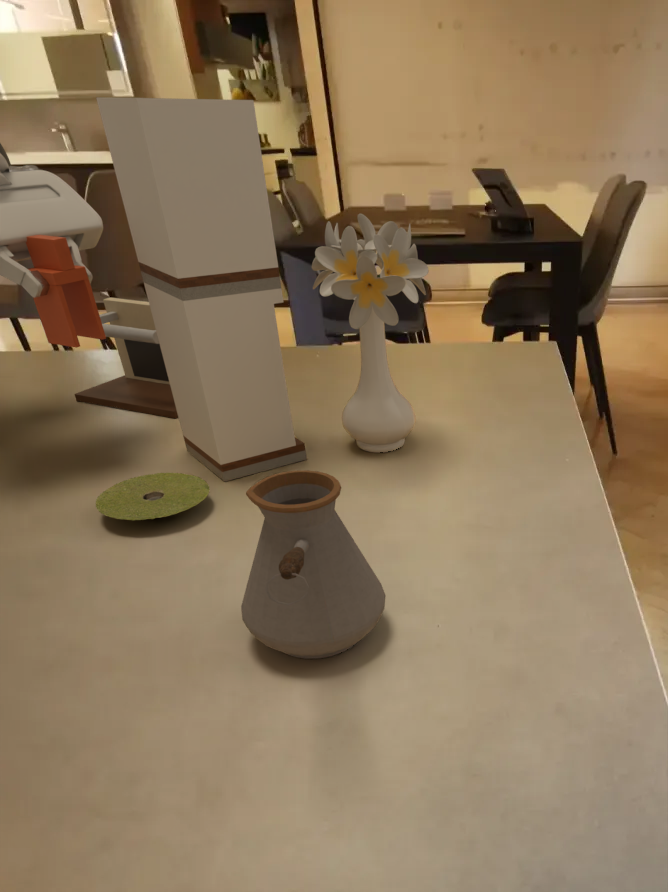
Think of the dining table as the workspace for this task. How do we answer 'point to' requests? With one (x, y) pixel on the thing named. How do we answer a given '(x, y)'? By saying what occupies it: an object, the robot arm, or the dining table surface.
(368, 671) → the dining table surface
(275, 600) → the coffee pot
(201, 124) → the white striped pedestal
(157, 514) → the mat
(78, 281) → the clip
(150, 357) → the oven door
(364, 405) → the flower vase
